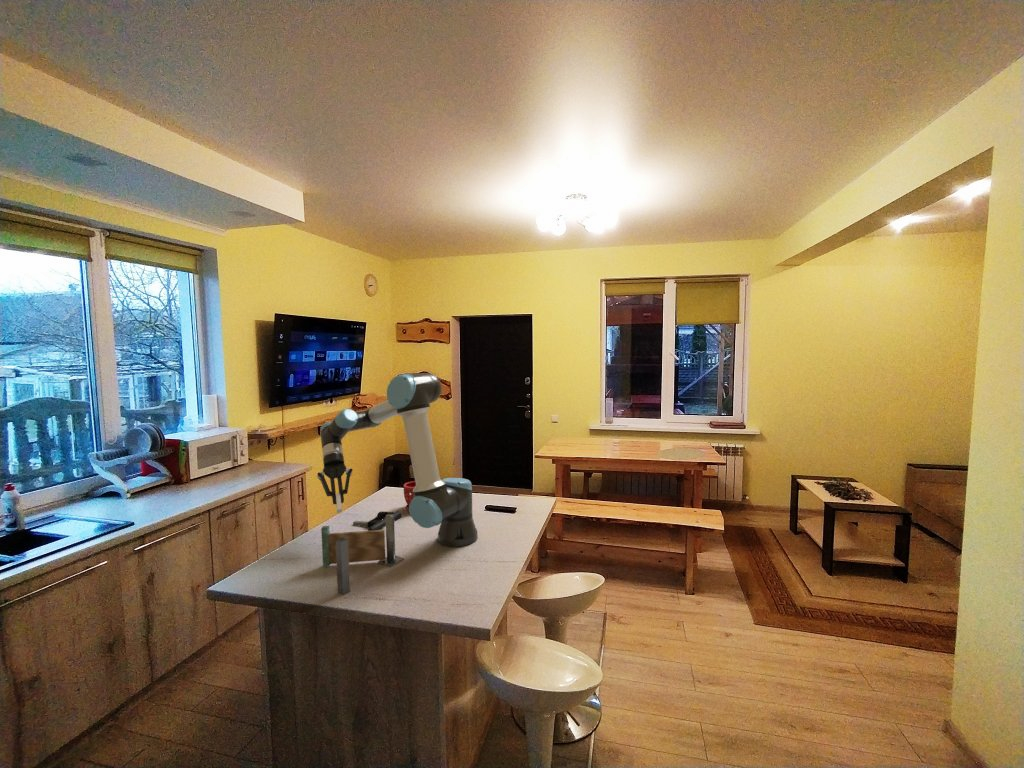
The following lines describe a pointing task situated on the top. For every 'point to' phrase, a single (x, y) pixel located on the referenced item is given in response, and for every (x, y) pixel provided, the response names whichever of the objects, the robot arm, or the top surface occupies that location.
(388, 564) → the hinge post
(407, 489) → the plant pot
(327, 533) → the wooden board
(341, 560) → the post
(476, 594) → the top surface
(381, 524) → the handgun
